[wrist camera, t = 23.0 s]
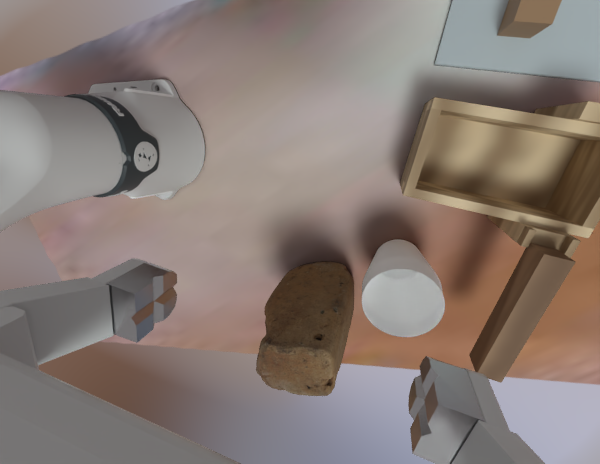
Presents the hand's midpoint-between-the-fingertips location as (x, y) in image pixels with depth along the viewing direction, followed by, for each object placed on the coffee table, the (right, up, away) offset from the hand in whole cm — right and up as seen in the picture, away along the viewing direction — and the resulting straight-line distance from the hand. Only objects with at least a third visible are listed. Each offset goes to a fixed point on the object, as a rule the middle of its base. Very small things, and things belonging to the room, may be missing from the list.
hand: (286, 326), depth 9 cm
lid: (+26, +25, +22) cm, 42 cm away
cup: (+15, -1, +34) cm, 37 cm away
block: (+4, -5, +38) cm, 39 cm away
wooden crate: (+23, +12, +26) cm, 37 cm away
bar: (+23, -5, +22) cm, 32 cm away
